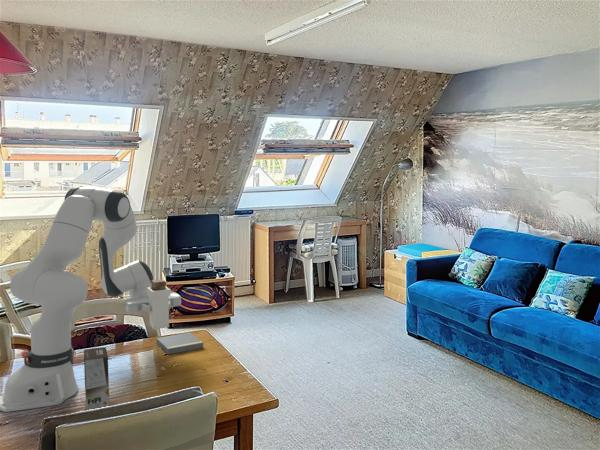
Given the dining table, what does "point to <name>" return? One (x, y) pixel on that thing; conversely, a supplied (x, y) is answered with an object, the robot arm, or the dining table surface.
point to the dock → (179, 343)
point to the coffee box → (96, 378)
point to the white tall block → (159, 308)
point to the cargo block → (158, 284)
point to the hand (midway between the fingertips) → (159, 308)
